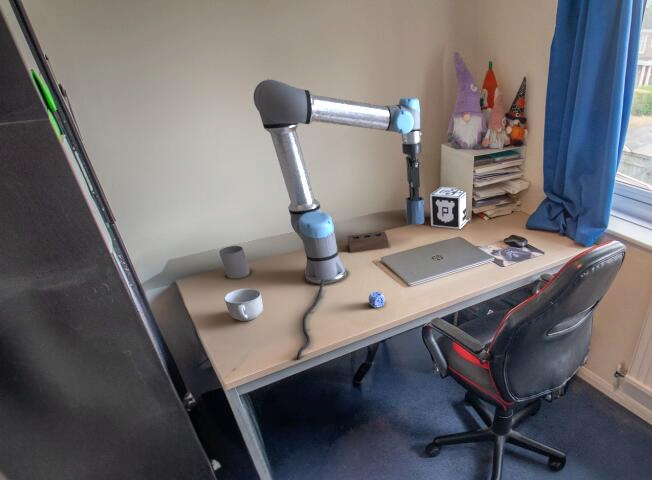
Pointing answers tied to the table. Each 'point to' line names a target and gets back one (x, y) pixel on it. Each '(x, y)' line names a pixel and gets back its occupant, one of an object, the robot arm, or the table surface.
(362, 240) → the caddy
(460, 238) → the table surface
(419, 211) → the coffee cup
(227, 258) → the cup
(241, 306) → the teacup
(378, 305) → the decorative dice
